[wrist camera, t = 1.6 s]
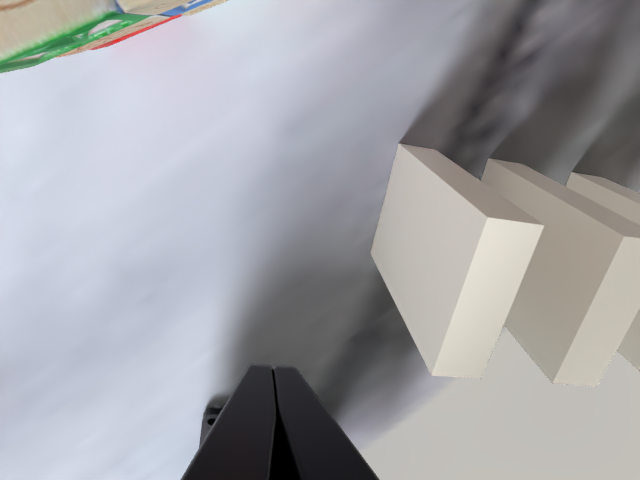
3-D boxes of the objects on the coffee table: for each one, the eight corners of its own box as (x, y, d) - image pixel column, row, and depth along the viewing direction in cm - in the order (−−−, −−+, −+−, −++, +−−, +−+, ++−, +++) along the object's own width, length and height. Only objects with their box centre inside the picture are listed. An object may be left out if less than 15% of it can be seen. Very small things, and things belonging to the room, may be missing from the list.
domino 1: (403, 257, 21) (481, 378, 14) (370, 253, 21) (431, 375, 13) (435, 149, 19) (544, 225, 12) (398, 143, 19) (487, 217, 12)
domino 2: (484, 266, 22) (597, 386, 15) (452, 263, 21) (552, 383, 14) (522, 164, 20) (674, 243, 13) (488, 158, 19) (624, 236, 12)
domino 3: (559, 275, 22) (702, 393, 15) (529, 272, 22) (661, 391, 15) (602, 177, 21) (790, 259, 13) (571, 172, 20) (745, 253, 13)
